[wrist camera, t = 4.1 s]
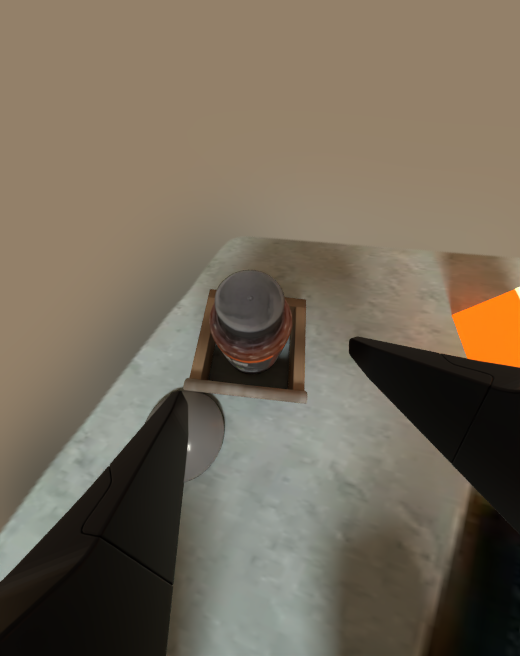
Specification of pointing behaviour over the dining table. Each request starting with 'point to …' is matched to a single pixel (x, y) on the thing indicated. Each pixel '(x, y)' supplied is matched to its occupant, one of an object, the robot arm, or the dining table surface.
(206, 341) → the holder
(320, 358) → the dining table surface
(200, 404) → the coaster
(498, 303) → the orange juice
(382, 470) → the dining table surface
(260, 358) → the supplement bottle
